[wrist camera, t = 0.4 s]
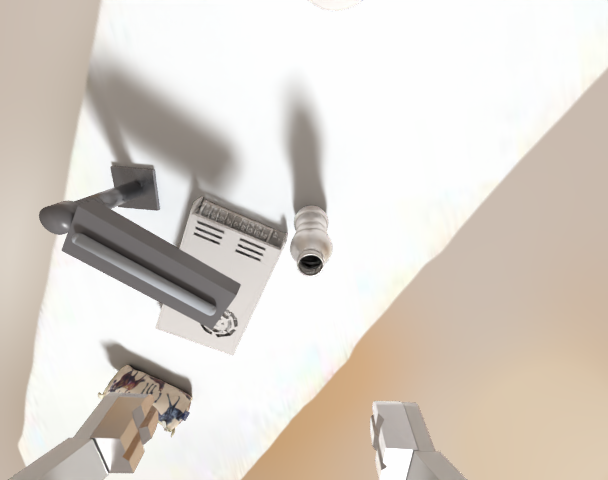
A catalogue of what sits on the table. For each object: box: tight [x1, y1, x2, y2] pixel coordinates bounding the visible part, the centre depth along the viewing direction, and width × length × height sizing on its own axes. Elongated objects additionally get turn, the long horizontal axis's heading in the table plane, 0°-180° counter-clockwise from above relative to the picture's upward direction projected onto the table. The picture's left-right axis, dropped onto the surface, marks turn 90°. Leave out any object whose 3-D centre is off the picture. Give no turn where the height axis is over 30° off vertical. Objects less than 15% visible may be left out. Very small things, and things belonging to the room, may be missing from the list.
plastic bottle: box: [290, 206, 332, 276], centre depth 48 cm, size 6×7×20 cm
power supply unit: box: [156, 196, 288, 355], centre depth 62 cm, size 19×33×5 cm, turn 156°
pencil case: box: [98, 365, 192, 437], centre depth 73 cm, size 22×8×10 cm, turn 54°
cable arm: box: [39, 200, 241, 329], centre depth 41 cm, size 28×8×5 cm, turn 55°
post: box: [74, 166, 160, 210], centre depth 48 cm, size 8×8×16 cm
